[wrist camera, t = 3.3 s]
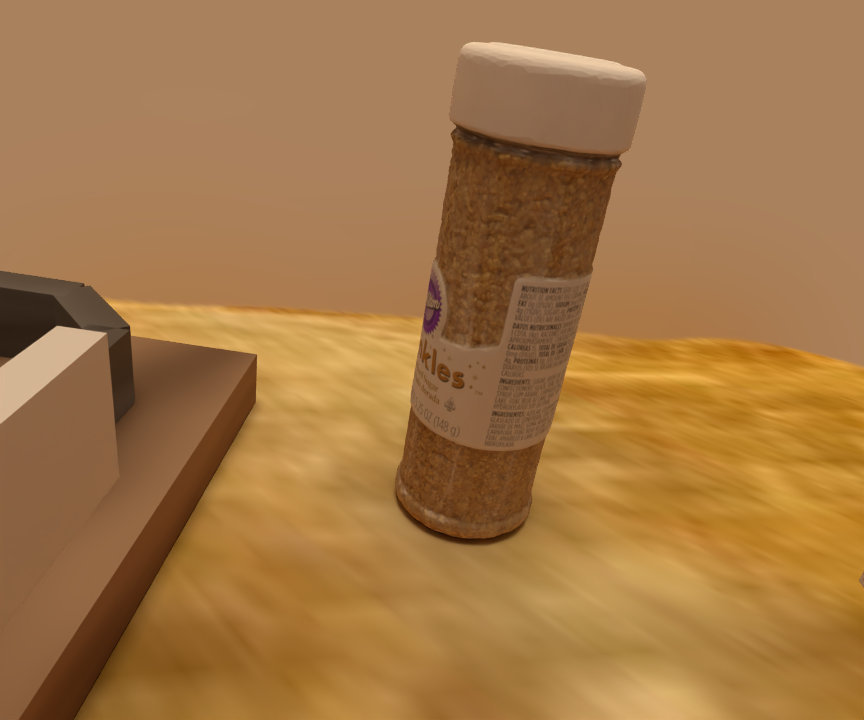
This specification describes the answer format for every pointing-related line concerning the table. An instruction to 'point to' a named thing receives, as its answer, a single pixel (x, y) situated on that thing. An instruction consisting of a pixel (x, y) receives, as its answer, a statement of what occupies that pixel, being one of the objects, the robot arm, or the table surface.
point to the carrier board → (115, 490)
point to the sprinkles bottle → (509, 275)
